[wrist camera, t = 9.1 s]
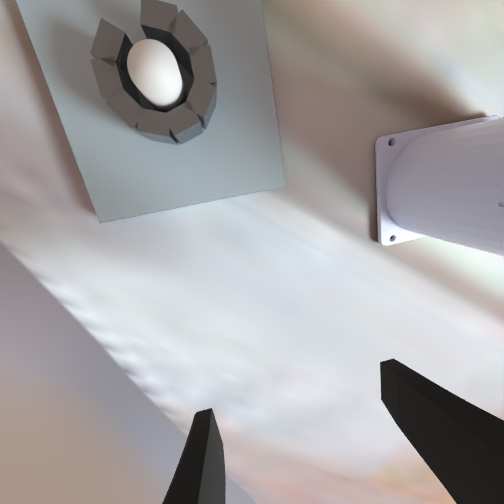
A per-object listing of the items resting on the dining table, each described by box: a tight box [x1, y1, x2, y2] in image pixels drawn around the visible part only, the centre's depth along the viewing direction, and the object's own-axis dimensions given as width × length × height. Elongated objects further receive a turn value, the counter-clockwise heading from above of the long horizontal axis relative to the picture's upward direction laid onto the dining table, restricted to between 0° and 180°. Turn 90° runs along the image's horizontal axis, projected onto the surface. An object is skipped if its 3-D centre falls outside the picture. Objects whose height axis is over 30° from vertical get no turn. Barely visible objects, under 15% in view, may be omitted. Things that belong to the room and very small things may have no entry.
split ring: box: [90, 0, 217, 145], centre depth 12 cm, size 5×5×3 cm
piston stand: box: [16, 0, 286, 223], centre depth 13 cm, size 12×12×5 cm
